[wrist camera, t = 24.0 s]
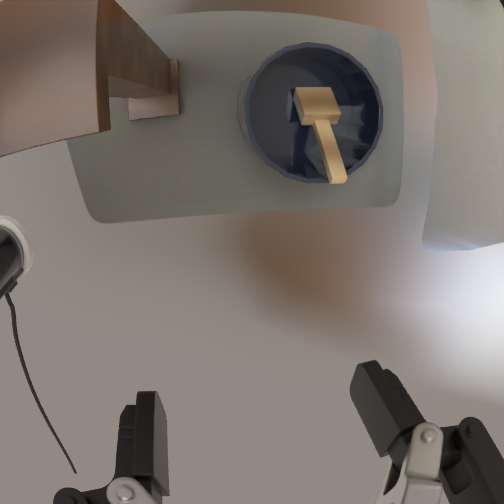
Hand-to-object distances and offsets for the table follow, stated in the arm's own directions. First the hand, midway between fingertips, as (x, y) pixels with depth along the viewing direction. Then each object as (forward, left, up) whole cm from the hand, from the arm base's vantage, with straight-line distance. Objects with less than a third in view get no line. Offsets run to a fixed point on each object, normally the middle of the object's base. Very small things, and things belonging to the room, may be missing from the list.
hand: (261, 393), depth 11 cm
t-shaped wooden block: (+7, -13, -32) cm, 35 cm away
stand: (+13, +9, -36) cm, 40 cm away
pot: (+10, -11, -36) cm, 39 cm away
